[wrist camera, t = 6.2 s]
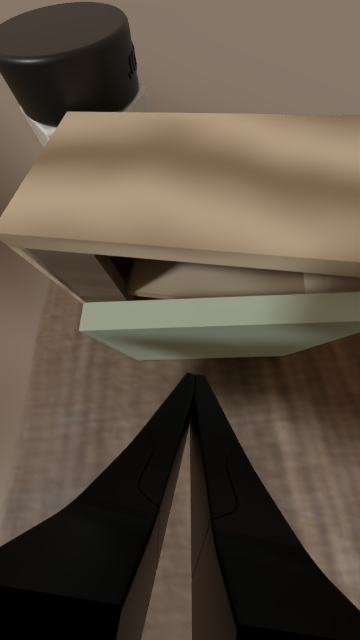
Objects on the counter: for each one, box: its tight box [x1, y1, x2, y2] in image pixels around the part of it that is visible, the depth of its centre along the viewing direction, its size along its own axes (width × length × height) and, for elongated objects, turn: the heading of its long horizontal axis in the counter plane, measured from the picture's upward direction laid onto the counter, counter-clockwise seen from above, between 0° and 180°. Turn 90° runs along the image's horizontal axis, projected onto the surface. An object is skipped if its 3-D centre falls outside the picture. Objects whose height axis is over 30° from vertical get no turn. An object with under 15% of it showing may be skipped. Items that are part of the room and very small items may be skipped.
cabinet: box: [0, 112, 360, 304], centre depth 13 cm, size 9×16×10 cm, turn 82°
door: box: [79, 292, 360, 360], centre depth 11 cm, size 1×12×9 cm, turn 91°
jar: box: [0, 2, 149, 147], centre depth 16 cm, size 9×8×12 cm
